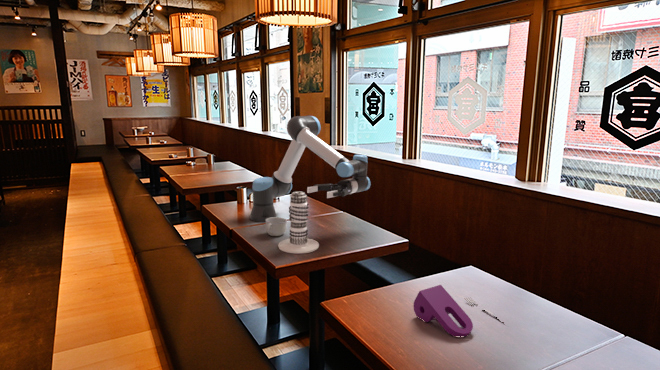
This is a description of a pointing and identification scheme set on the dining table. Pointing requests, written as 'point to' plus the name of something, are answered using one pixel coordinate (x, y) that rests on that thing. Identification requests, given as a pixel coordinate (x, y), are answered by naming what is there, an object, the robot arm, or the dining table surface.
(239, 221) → the dining table surface
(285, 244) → the candle plate
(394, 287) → the dining table surface
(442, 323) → the mounting bracket
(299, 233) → the decorative candle
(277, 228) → the teacup
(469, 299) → the fork
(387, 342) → the dining table surface
